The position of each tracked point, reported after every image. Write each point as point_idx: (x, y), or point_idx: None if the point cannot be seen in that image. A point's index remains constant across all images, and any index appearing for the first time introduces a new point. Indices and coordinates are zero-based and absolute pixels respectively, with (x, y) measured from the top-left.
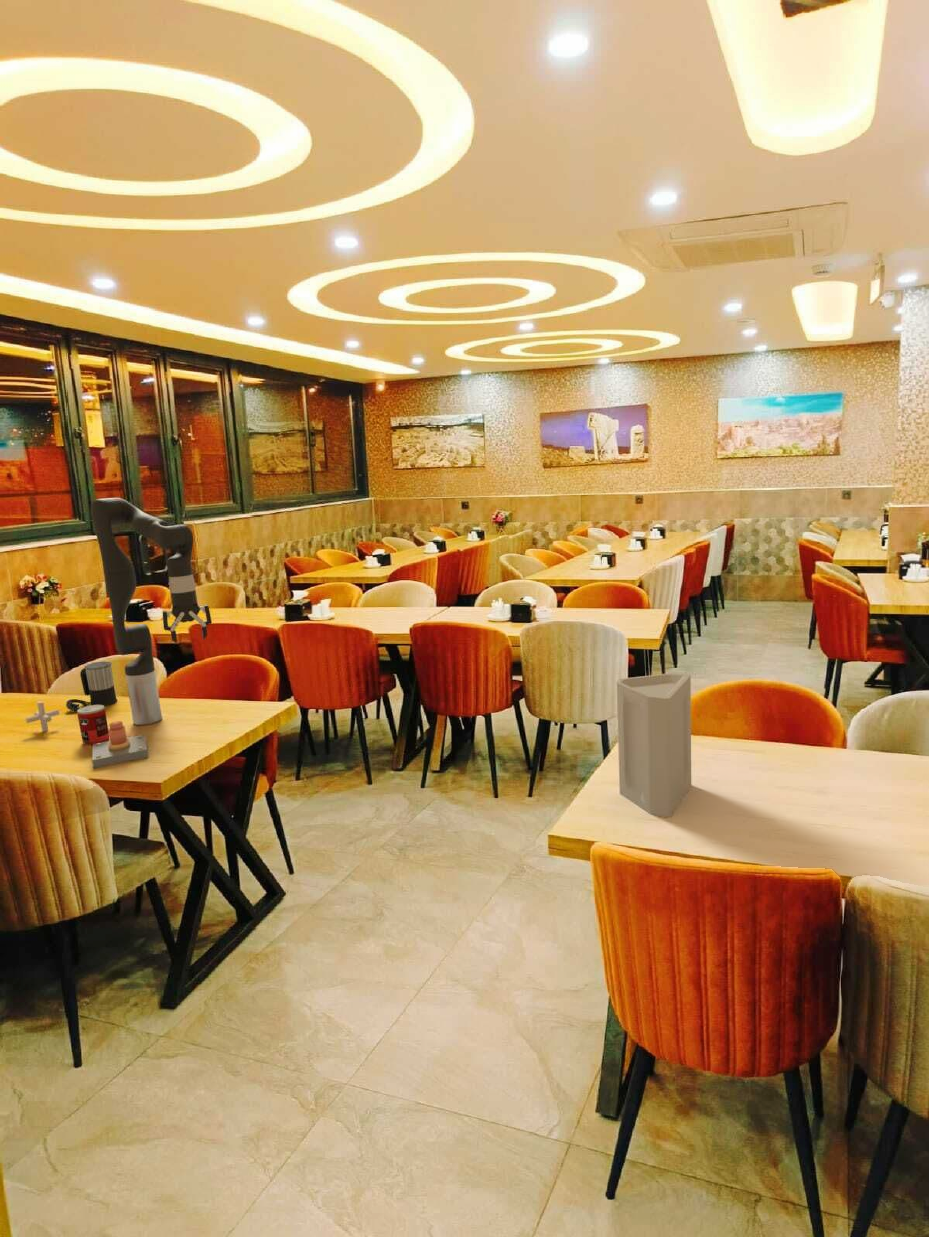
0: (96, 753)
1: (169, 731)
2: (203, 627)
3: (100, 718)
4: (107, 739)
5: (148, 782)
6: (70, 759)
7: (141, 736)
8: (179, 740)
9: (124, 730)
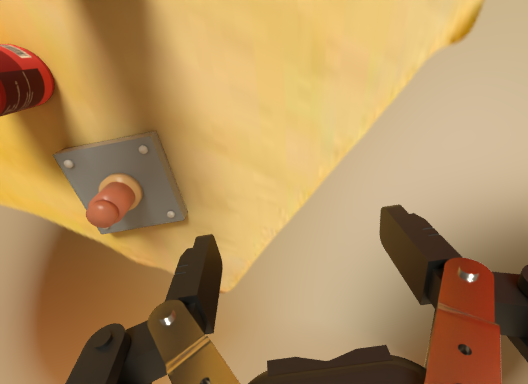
0: None
1: (190, 77)
2: (433, 301)
3: (8, 108)
4: (53, 85)
5: None
6: (35, 173)
7: (147, 146)
8: (225, 148)
9: (125, 211)
